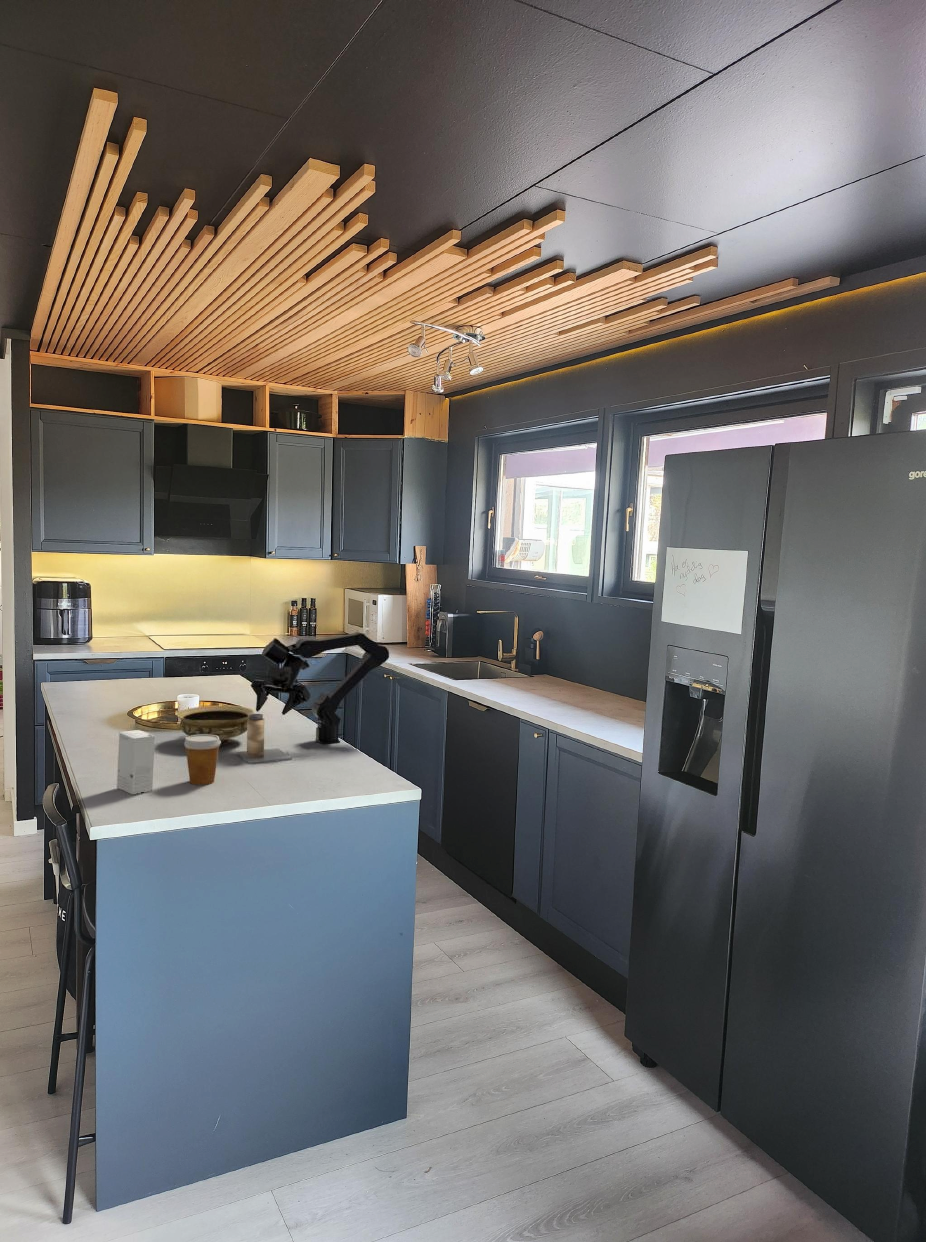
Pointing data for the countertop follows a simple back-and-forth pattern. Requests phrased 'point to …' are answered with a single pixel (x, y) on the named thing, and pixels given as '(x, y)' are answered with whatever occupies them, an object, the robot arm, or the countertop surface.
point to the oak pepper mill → (255, 736)
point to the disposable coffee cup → (202, 757)
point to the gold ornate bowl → (215, 721)
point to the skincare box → (135, 761)
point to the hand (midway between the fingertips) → (269, 712)
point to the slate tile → (266, 756)
